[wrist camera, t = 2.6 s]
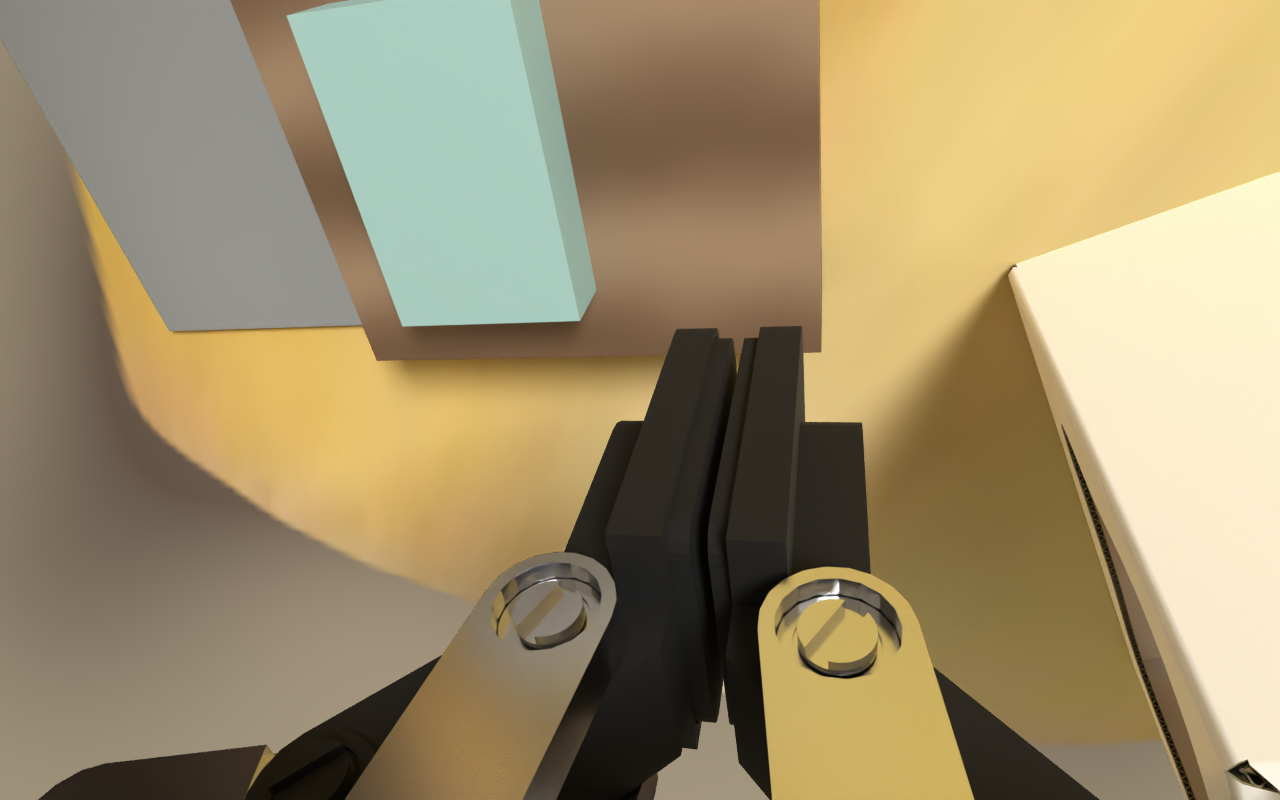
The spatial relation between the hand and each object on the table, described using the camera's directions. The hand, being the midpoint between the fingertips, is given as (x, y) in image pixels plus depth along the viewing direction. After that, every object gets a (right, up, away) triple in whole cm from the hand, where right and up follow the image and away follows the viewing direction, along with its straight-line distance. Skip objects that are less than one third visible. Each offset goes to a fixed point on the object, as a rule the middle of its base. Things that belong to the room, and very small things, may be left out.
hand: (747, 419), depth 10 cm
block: (-7, +7, +12) cm, 15 cm away
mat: (-18, +10, +18) cm, 27 cm away
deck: (-4, +10, +14) cm, 18 cm away
